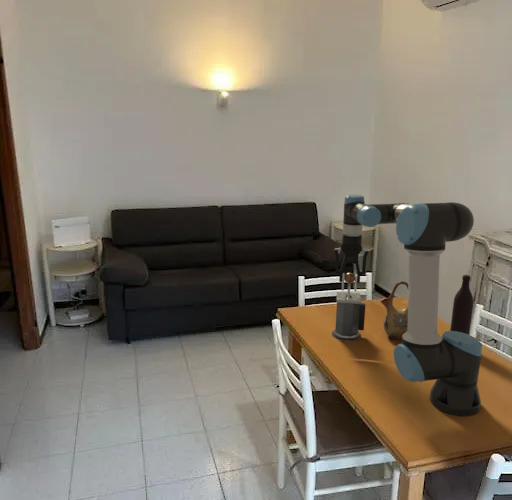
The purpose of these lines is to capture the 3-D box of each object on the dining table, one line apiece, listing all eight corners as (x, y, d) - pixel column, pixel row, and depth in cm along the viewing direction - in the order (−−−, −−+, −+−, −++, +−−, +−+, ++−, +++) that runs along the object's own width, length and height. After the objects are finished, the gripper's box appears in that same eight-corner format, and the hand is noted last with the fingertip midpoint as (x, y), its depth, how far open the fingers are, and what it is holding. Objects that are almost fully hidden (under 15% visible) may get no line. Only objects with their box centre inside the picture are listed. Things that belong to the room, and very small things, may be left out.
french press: (363, 341, 200) (366, 301, 196) (334, 338, 202) (336, 300, 197) (362, 331, 210) (365, 293, 205) (334, 328, 211) (336, 291, 207)
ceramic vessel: (413, 333, 209) (419, 277, 202) (420, 343, 200) (426, 285, 194) (375, 333, 209) (379, 277, 202) (380, 343, 200) (385, 284, 194)
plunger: (355, 331, 201) (358, 275, 195) (338, 330, 202) (341, 274, 196) (354, 325, 208) (358, 270, 201) (338, 324, 209) (341, 269, 202)
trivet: (361, 343, 199) (361, 342, 199) (331, 341, 201) (331, 339, 201) (360, 331, 211) (360, 329, 211) (332, 329, 213) (332, 327, 212)
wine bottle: (467, 345, 199) (476, 274, 191) (466, 352, 193) (476, 279, 185) (449, 341, 202) (457, 272, 194) (447, 349, 196) (456, 277, 188)
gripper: (374, 232, 197) (370, 288, 203) (330, 231, 199) (327, 285, 206) (375, 237, 190) (371, 294, 196) (329, 235, 192) (327, 291, 198)
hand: (349, 289), depth 201 cm, fingers closed on plunger, 4 cm apart
